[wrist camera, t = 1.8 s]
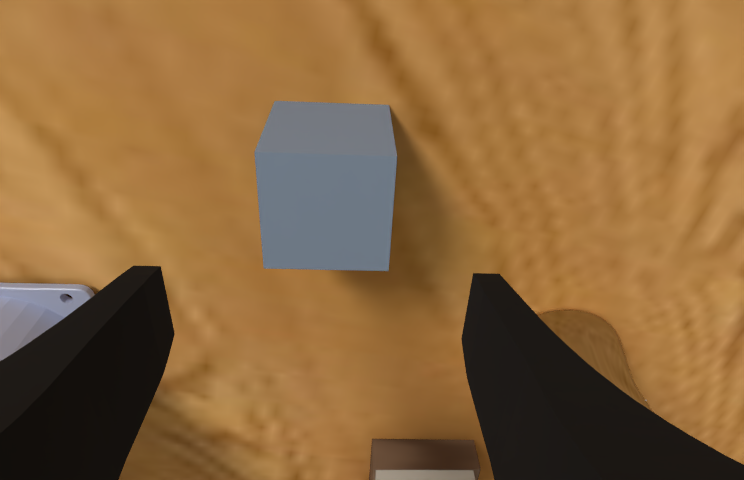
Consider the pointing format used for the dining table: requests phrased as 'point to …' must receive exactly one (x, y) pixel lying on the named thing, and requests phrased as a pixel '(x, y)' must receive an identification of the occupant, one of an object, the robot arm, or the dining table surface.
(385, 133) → the blue block
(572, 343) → the beer glass
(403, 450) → the base slab
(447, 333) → the dining table surface
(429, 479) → the mid slab
